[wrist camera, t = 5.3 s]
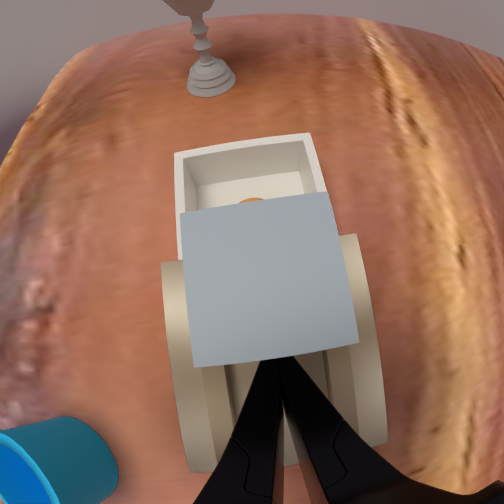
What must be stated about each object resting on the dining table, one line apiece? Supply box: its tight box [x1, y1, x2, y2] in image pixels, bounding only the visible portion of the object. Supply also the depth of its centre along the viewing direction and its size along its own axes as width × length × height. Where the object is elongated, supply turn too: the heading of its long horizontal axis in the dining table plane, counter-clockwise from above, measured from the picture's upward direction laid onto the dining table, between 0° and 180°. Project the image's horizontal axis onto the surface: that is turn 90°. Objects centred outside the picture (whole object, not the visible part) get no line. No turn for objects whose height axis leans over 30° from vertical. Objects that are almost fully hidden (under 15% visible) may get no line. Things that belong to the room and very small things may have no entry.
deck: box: [161, 233, 388, 472], centre depth 16 cm, size 11×10×8 cm
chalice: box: [163, 0, 236, 97], centre depth 18 cm, size 7×7×18 cm
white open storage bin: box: [174, 133, 327, 260], centre depth 20 cm, size 8×9×4 cm
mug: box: [0, 416, 118, 504], centre depth 14 cm, size 12×8×8 cm
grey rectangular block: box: [180, 191, 359, 368], centre depth 10 cm, size 4×4×8 cm
